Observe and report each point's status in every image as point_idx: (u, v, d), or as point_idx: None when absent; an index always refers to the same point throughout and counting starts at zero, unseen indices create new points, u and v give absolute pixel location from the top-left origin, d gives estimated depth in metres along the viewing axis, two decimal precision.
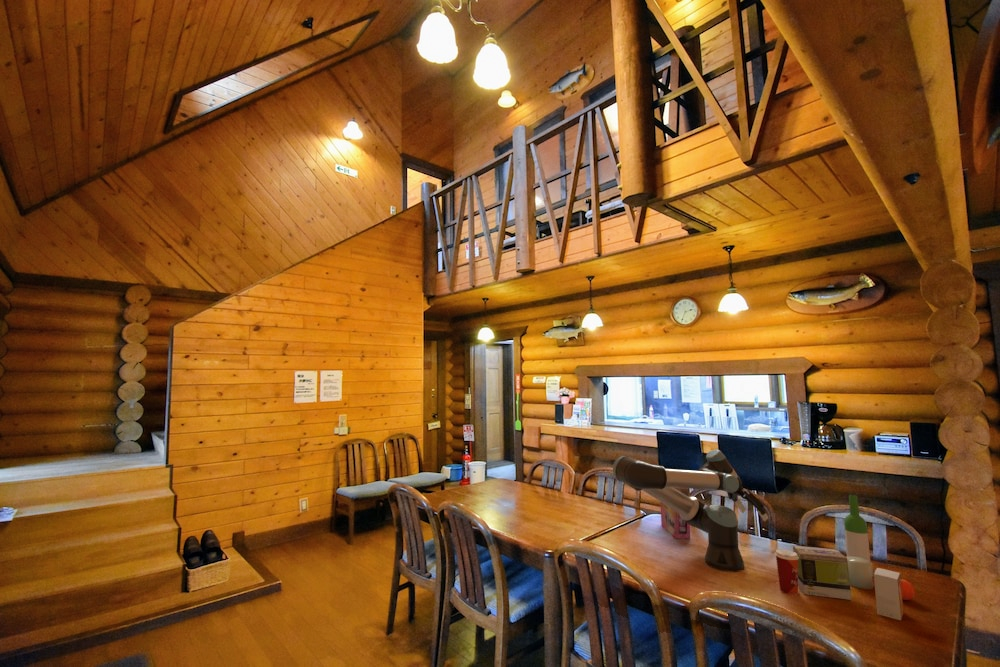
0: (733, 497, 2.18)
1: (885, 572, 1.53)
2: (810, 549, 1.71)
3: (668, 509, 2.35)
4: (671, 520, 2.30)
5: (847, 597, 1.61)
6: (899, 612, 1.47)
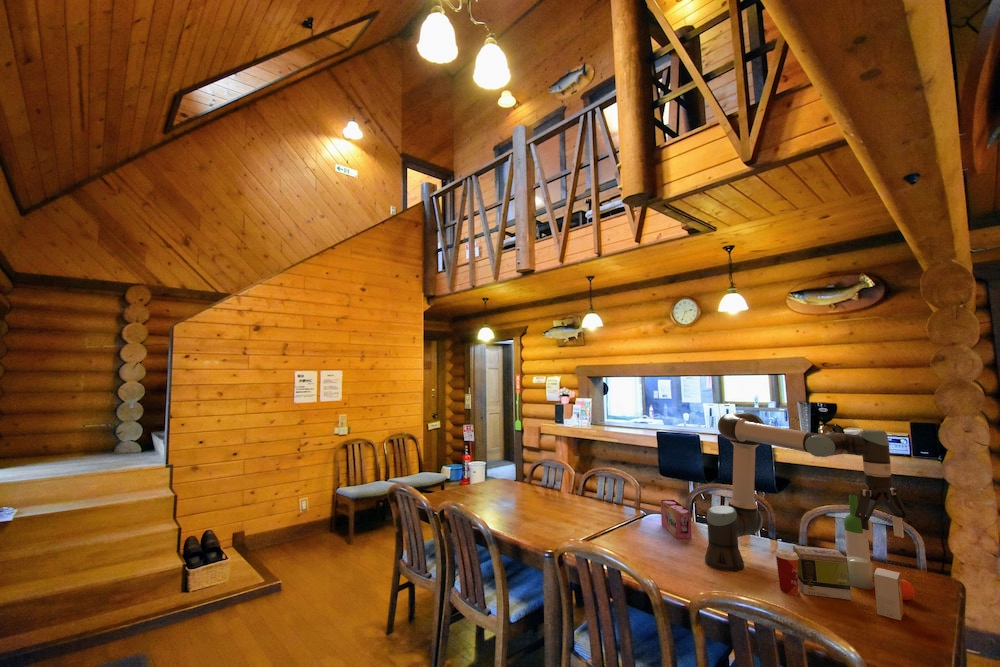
0: None
1: (885, 572, 1.53)
2: (810, 549, 1.71)
3: (669, 509, 2.35)
4: (673, 520, 2.30)
5: (847, 597, 1.61)
6: (899, 612, 1.47)
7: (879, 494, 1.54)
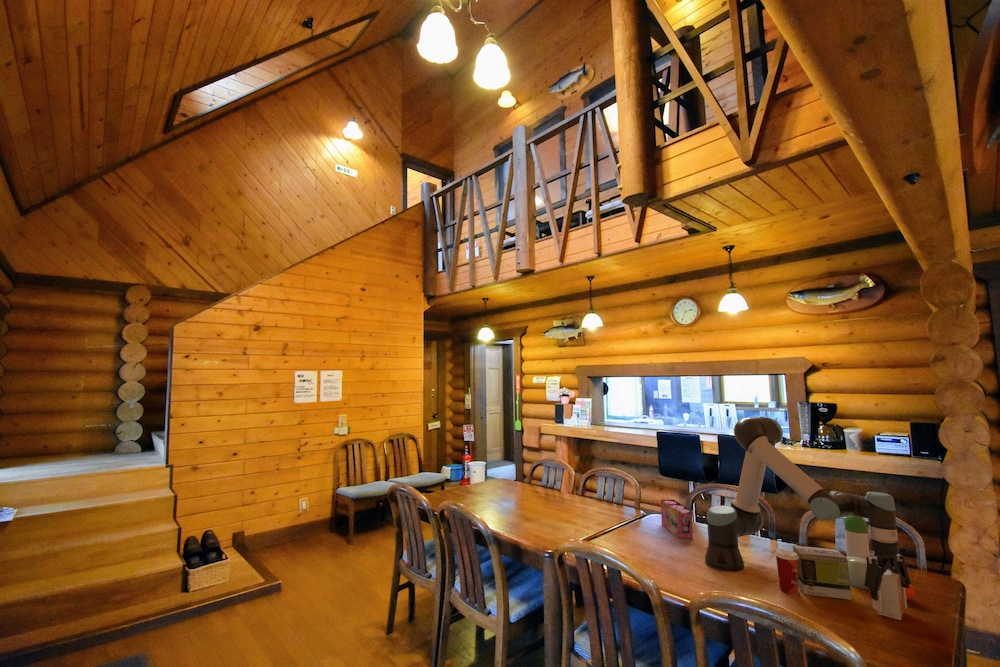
0: None
1: (885, 572, 1.53)
2: (810, 549, 1.71)
3: (670, 509, 2.35)
4: (674, 520, 2.31)
5: (847, 597, 1.61)
6: (899, 612, 1.47)
7: (885, 561, 1.52)
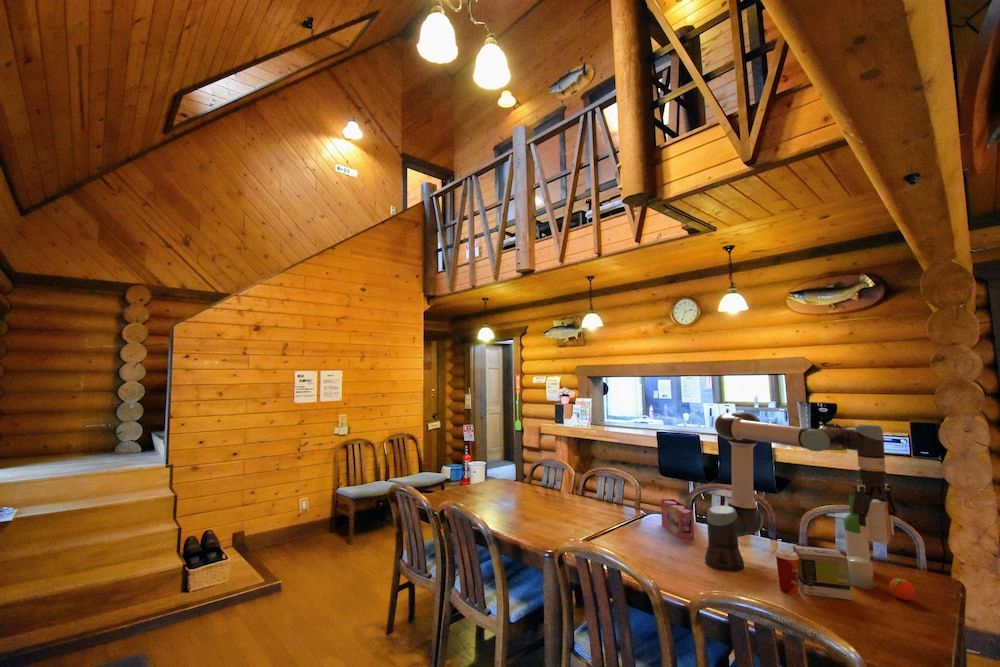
0: None
1: (873, 501, 1.57)
2: (810, 549, 1.71)
3: (671, 509, 2.36)
4: (675, 520, 2.31)
5: (847, 597, 1.61)
6: (886, 536, 1.51)
7: (873, 488, 1.56)
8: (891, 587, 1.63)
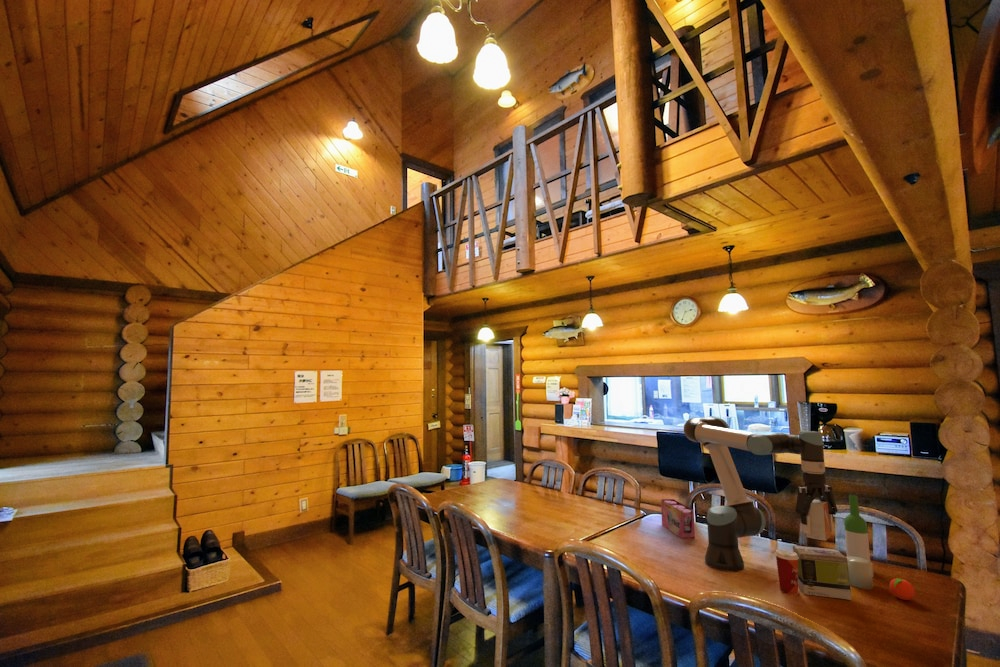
0: None
1: (814, 501, 1.71)
2: (810, 549, 1.71)
3: (672, 509, 2.36)
4: (676, 520, 2.31)
5: (847, 597, 1.61)
6: (824, 533, 1.65)
7: (814, 490, 1.70)
8: (891, 587, 1.63)
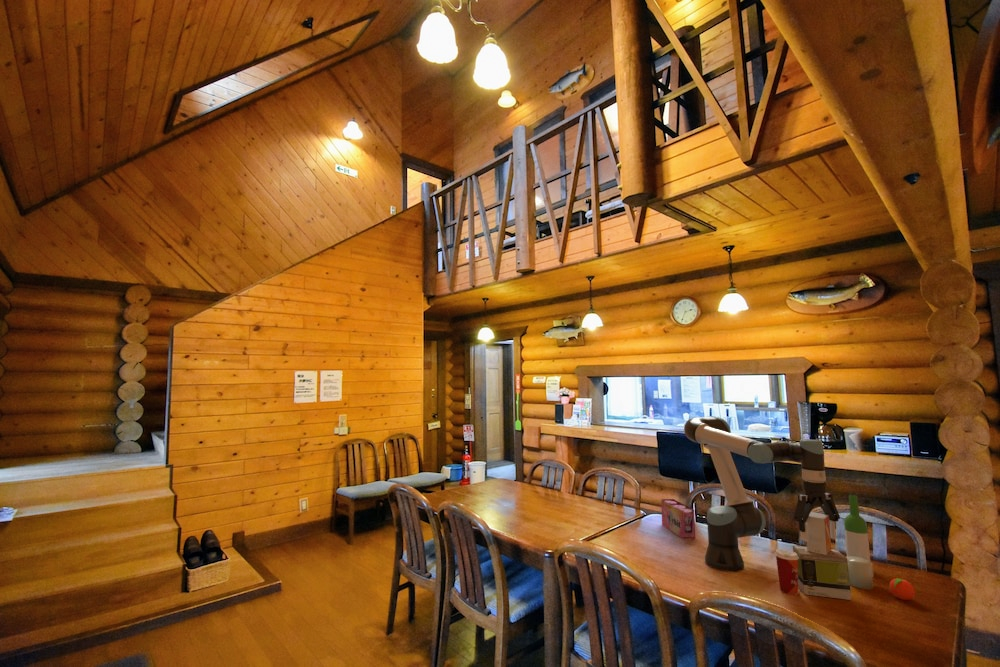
0: None
1: (815, 514, 1.71)
2: None
3: (672, 509, 2.36)
4: (676, 520, 2.31)
5: (847, 597, 1.61)
6: (825, 548, 1.65)
7: (814, 498, 1.69)
8: (891, 587, 1.63)
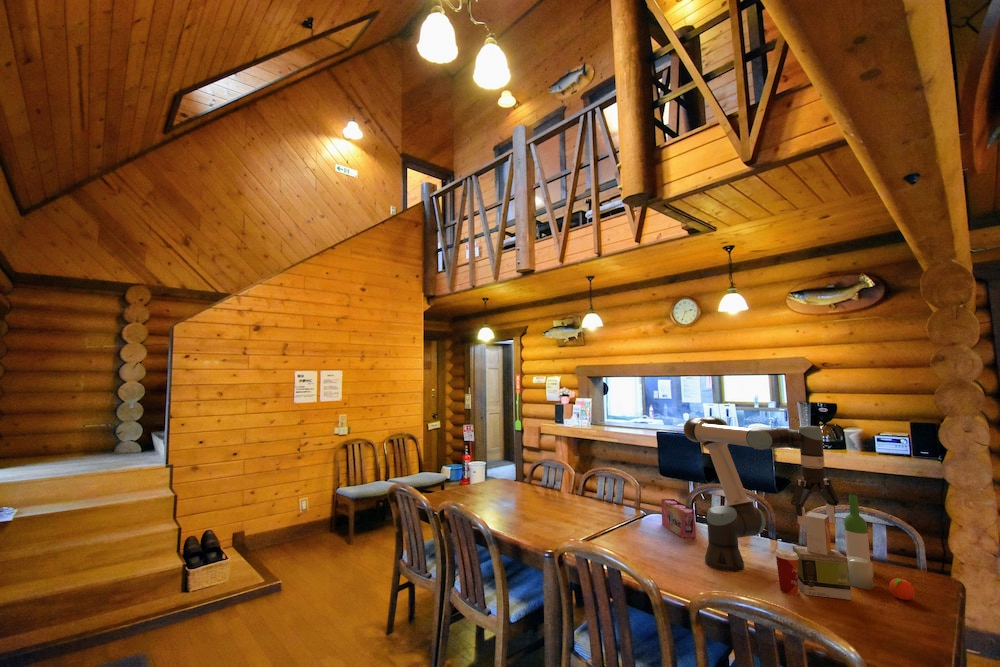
0: None
1: (815, 515, 1.71)
2: None
3: (673, 509, 2.36)
4: (677, 520, 2.31)
5: (847, 597, 1.61)
6: (825, 548, 1.65)
7: (813, 484, 1.70)
8: (891, 587, 1.63)
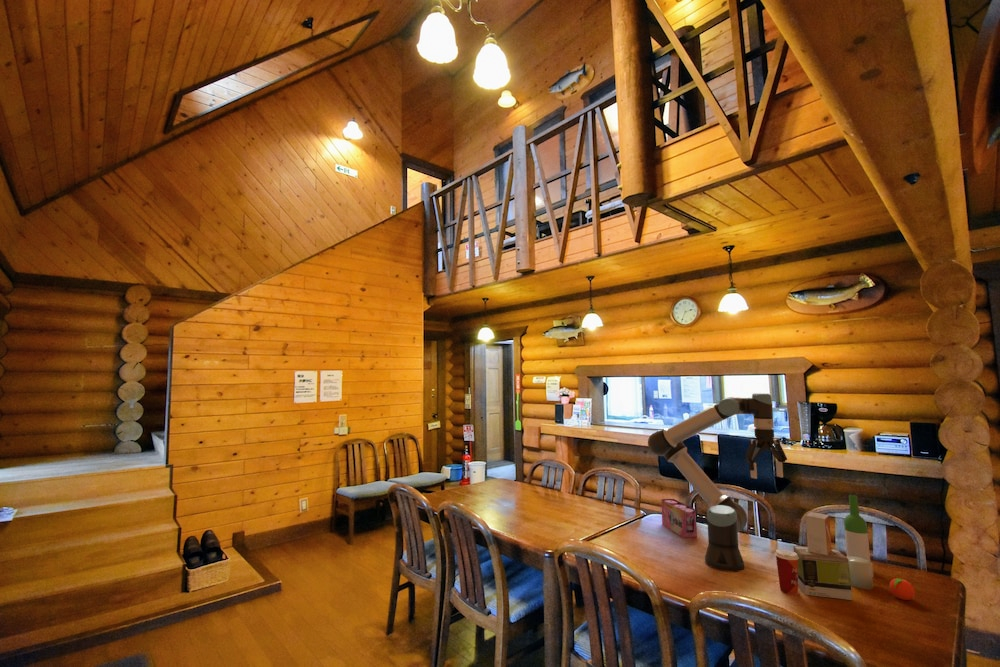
0: None
1: (816, 515, 1.71)
2: None
3: (673, 508, 2.36)
4: (678, 520, 2.32)
5: (848, 597, 1.61)
6: (826, 548, 1.64)
7: (763, 443, 1.96)
8: (891, 587, 1.63)
